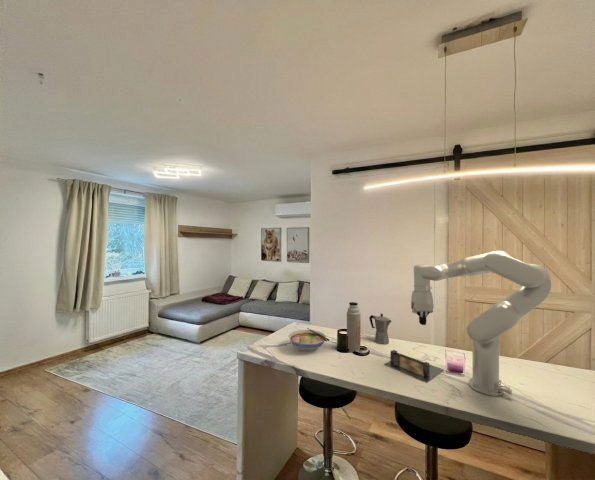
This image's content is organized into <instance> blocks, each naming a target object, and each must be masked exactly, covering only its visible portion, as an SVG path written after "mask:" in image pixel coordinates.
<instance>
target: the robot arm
mask: <svg viewBox="0 0 595 480" xmlns="http://www.w3.org/2000/svg"><path fill="white" fill-rule="evenodd" d="M490 273H494V274H496V275H498V276H500V277H503V278H504V279H507V280H509V281H511V282H512V283H515V284H517V285H520V286H519V287H517V288H516V290H514V291H513V292H511V293H510V294H509V295H507V296H506V297H505V298H504V299H501V300H500V301H498V302H497V303H495V304H493V305H492V306H491V307H489V308H488V309H486V310H485V311H484V312H483V313H482V312H481V314H479V315H478V316H477V317H475V318H474V319H473V320H471V321H470V322H469V323H468V324H467V327H466V332H467V336H468V337H469V338H470V339H471V340H472V378H469V379H468V380H467V384H468V386H470V388H471V389H473V390H474V391H476V392H478V393H481V394H483V395H485V396H486V395H487V396H491V397H492V396H493V397H499V396H502V395H504V393H506V394H508V395H512V394H513V389H511V388H510V386H508V385H506V384H505V385H504V384H503V383H502V379H500V341H501V340H500V338H501V336H502V335H504V334H505V333H506V332H508V331H509V330H510V329H512V328H514V327H515V326H517V324H518V323H519V322H520V321H521V319H522V318H524V317H525V316H526V315H527V314H528V313H530V312H531V311H533V310H534V309H536V307H538V306H539V305H541V304H542V303H543V302H544V301H545V300H546V299H547V298H548V296H549V294H550V293H551V288H552V281H551V277H550V274H549V273H548V271H547V270H546V269H545V268H544V267H543V266H541V265H539V264H535V263H526V262H525V261H522V260H520V259H517V258H515V257H512V256H511V255H510V253H508V252H506V251H505V250H494V251H489V252H486V253H485V252H484V253H482V254H481V253H480V254H476V255H472V256H468V257H464V258H461V259H459V260H456V261H451V262H446V263H442V264H435V265H428V264H415V265H414V266H413V290H412V292H411V299H410V309H411V313H413V314H416V315H417V316H418V322H419V324H420V325H422V326H427V317H428V315H430V314H432V313H433V312H434V298H433V297H434V296H433V293H432V291H431V290H432V289H433V286H431V281H433V282H438V281H439V282H440V281H442V280H445V279H446V280H447V279H450V278H451V279H452V278H457V277H462V276H468V277H472V276H478V275H479V276H480V275H483V274H490Z"/></svg>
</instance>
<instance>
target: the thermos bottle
mask: <svg viewBox="0 0 595 480" xmlns="http://www.w3.org/2000/svg"><path fill="white" fill-rule="evenodd" d="M358 304H359V303H357V302H356V301H355V302H353V301H351V302H349V303H348V307H347V311H346V337H347V336H348V349H349V351H348V352H349V353H353V352H354V351H356V350H360V348H361V347H362V345H361V341H362V340H361V339H362V338H361V334H362V333H361V329H362V328H361V324H362V323H361V322H362V321H361V319H362V317H361V315H362V313H361V312H360V308H359V305H358ZM360 351H361V350H360Z"/></svg>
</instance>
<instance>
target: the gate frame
mask: <svg viewBox="0 0 595 480" xmlns="http://www.w3.org/2000/svg"><path fill="white" fill-rule="evenodd" d="M396 352H397V353H398V351H397V350H395V349H393V350H391V351H390V360H389V361H387V362H385V363H384V364H383V365H384V366H386V367H389V368H391V369H393V370H395V371H398V372H400V373H403V374H405V375H408V376H410V377H412V378H415V379H417V380H419V381H422V382H424V383H429V382H431V381H432V380H433V379H434V378H436V377H437V376H439V375H440V374H442V373H443V372H444V371H445V369H443V368H441V367H438V366H435V365H432V364H430V362H428V361H425V362H424V361H423V362H424V375H421V374H418V373H416V372H413V371H411V370H408V369H406V368H403V367H401V366H399V356H397V355H396Z"/></svg>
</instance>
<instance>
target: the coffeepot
mask: <svg viewBox="0 0 595 480" xmlns="http://www.w3.org/2000/svg"><path fill="white" fill-rule="evenodd" d="M373 320H374V322H373ZM369 323H370V325H371V328H372V329H375V330H376V331H375V334H374V335H375V336H374V342H375V343H376V344H378V345H388V344H389V343H390V339H389V335H388V334H389V333H388V329H389V326H390V324H391V323H392V320H391V319H390V318H389V317H387V316H384V313H380V316H377V315H373V314H371V315H369ZM374 325H375V326H374Z"/></svg>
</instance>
